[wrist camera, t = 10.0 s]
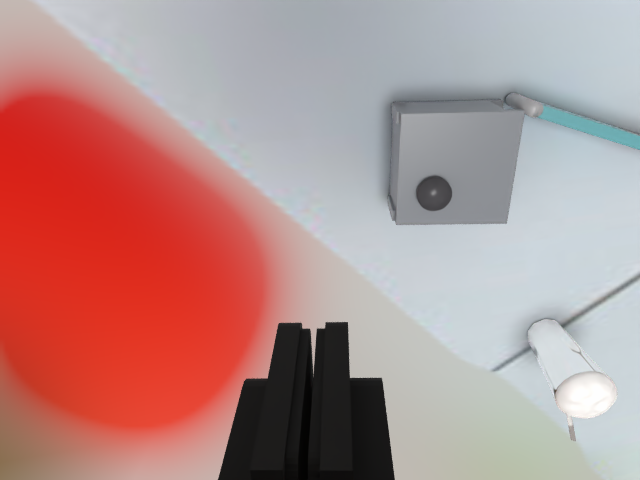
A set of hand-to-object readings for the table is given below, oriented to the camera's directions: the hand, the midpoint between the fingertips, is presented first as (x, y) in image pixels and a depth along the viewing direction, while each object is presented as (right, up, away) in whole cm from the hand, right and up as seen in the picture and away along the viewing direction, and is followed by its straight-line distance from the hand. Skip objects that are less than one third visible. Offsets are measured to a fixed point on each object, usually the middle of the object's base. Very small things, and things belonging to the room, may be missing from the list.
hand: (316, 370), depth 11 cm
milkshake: (+21, -6, +32) cm, 39 cm away
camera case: (+10, +10, +25) cm, 29 cm away
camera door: (+20, +12, +23) cm, 33 cm away
